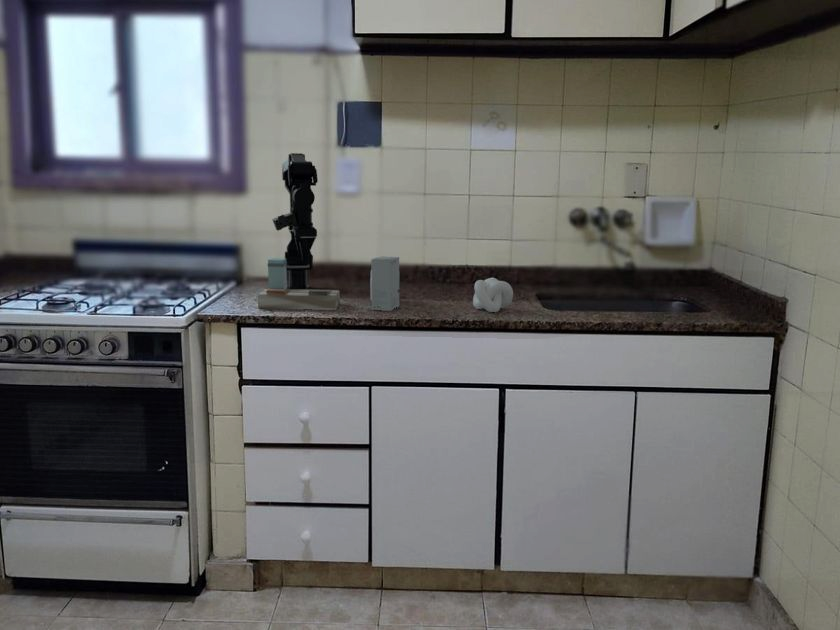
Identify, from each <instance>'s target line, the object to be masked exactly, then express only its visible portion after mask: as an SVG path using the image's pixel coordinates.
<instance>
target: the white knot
mask: <svg viewBox="0 0 840 630" xmlns="http://www.w3.org/2000/svg"><path fill="white" fill-rule="evenodd" d="M473 289H474V294H473V299H472V305H473V307H474V308H475V309H476V310H478V309H480V310H483V309H484V310H486V311H487V312H489V313H491V312H495V313H498V312H499V311H500V310H501V309H500V308H502V309H505V308H507V307H508V306H509V305H510V304H511V303H512V301H513V297H514V291H513V287H512V286H511V284H510V283H509V282H507V281H504V280H499V279H497V278H495V277H490V278H489V277H488V278H486V279H484V280H483V279H478V280H476V282H475V283H474V287H473Z"/></svg>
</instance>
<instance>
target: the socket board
mask: <svg viewBox="0 0 840 630" xmlns="http://www.w3.org/2000/svg"><path fill="white" fill-rule="evenodd" d="M340 294H341V293H340V290H339V289H269V288H264V289H263V290H262V291H261V292H259V293H258V294H257V309H258V308H259V309H261V308H262V309H264V310H265V309H266V310H303V309H312V310H311V311H314V310H315V311H316V310H317V311H336V309H338V307H339V306H340V303H341V300H340V299H341V298H340V297H341V295H340Z"/></svg>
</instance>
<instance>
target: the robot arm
mask: <svg viewBox="0 0 840 630" xmlns="http://www.w3.org/2000/svg"><path fill="white" fill-rule="evenodd" d="M281 175H282V176H281V177H282V181H284V187H285V189H286V190H287V192H288V194H289V212H288V213H285V214H283V213H282V214H281V215H278V216H276V217H274V218H272V223H273V225H274V227H275V229H276V231H277V232H278V231H281V230H283V229H285V228H287V227H288V228H287V230H288V233H290V240H289V242H288V244H287V246H286V251H284V258H286V262H287V265H286V271H288V283H289V285H287V289H306V290H308V288H309V287H310V284H307V283H308V280H307V279H308V277H307V276H308V275H307V274H308V271H312V270H314V269H313V268H314V267H313V266H314V265H313V264H314V255H313V254H312V251H311V249H312V248H313V245H314V243H315V241H316V239H317V237H318V230H317V228H315V227H314V224H313V223H314V222H313V220H312V219H313V214H312V213H314V210H313V208H312V205H313V204H314V202H315V197H316V196H315V194H314V192H313V190H312V188H311V187H312V186H317V184H318V171H317V168H316V166H315V165H313V161H307V160H306V155H305V154H303V153H297V152H296V153H295V152H294V153H293V152H292V153H289V154H288V158H287V159H286V160H285V161H284V162H283V163H282V171H281Z"/></svg>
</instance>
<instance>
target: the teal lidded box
mask: <svg viewBox="0 0 840 630" xmlns="http://www.w3.org/2000/svg"><path fill="white" fill-rule="evenodd" d="M286 265H287V262H286V258H285V257H283V258H282V257H271V258H268V259H267V270H268V271H267V274H268V289H287V287H288V281H287V278H288V277H287V276H288V275H287V270H286ZM287 266H288V265H287Z"/></svg>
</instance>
